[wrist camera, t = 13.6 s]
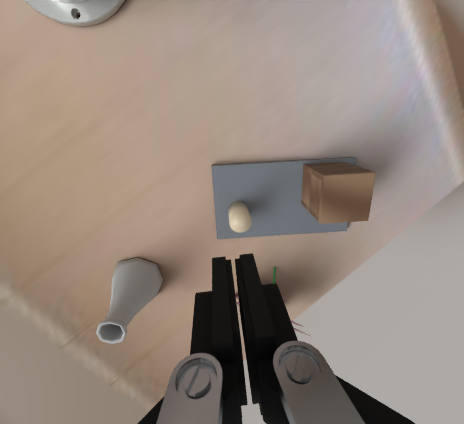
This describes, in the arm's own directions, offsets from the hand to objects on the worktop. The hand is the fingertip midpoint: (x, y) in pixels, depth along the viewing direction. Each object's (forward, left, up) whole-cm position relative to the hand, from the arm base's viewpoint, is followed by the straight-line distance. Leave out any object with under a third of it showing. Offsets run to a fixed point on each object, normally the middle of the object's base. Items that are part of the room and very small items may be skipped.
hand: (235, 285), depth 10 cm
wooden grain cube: (+2, +12, -22) cm, 25 cm away
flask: (+15, -14, -23) cm, 30 cm away
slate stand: (+4, +7, -23) cm, 24 cm away
